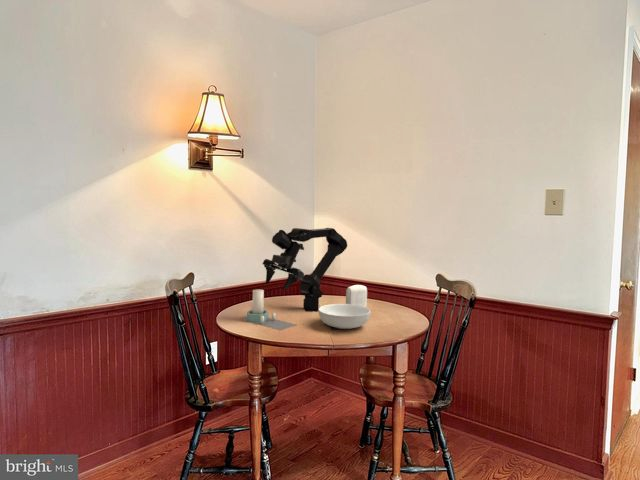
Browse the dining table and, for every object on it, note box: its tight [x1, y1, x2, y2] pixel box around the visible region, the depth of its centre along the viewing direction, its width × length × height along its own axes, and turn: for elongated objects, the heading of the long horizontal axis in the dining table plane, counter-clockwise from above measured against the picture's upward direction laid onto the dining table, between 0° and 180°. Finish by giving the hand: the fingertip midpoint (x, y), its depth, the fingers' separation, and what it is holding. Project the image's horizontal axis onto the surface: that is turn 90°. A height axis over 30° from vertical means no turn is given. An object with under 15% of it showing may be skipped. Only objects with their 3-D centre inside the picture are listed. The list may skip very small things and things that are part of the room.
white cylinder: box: [251, 288, 265, 314], centre depth 182 cm, size 4×4×12 cm
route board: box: [239, 312, 297, 331], centre depth 179 cm, size 23×10×4 cm, turn 52°
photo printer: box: [345, 284, 368, 308], centre depth 199 cm, size 10×4×12 cm, turn 123°
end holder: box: [246, 309, 269, 323], centre depth 182 cm, size 9×9×3 cm
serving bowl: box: [317, 303, 371, 330], centre depth 177 cm, size 21×21×7 cm
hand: (274, 287), depth 187 cm, fingers open, 9 cm apart
